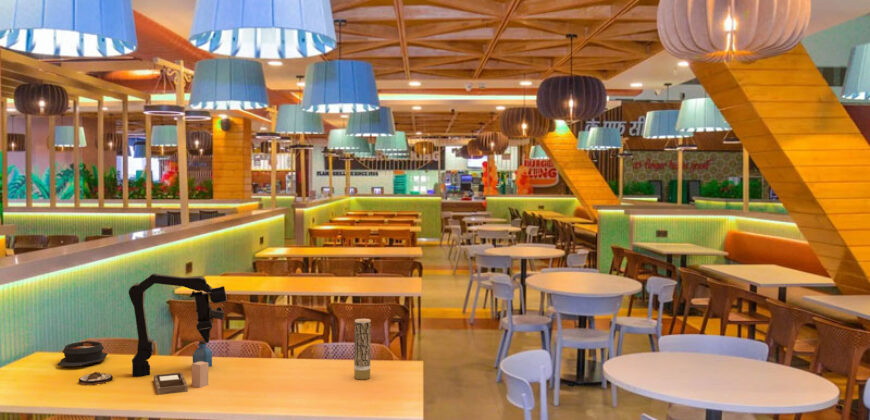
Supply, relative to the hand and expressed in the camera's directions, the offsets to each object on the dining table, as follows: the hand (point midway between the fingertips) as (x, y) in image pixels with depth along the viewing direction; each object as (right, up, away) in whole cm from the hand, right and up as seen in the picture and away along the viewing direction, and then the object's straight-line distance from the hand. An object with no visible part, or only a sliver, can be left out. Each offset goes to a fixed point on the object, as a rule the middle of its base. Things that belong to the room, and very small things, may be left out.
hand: (208, 340), depth 307 cm
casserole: (-62, -13, +15) cm, 65 cm away
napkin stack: (-10, -14, -18) cm, 25 cm away
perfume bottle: (-6, -14, +10) cm, 18 cm away
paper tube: (+67, -15, -4) cm, 69 cm away
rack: (-8, -15, -22) cm, 28 cm away
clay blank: (+4, -15, -21) cm, 26 cm away
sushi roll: (-42, -15, -14) cm, 47 cm away
